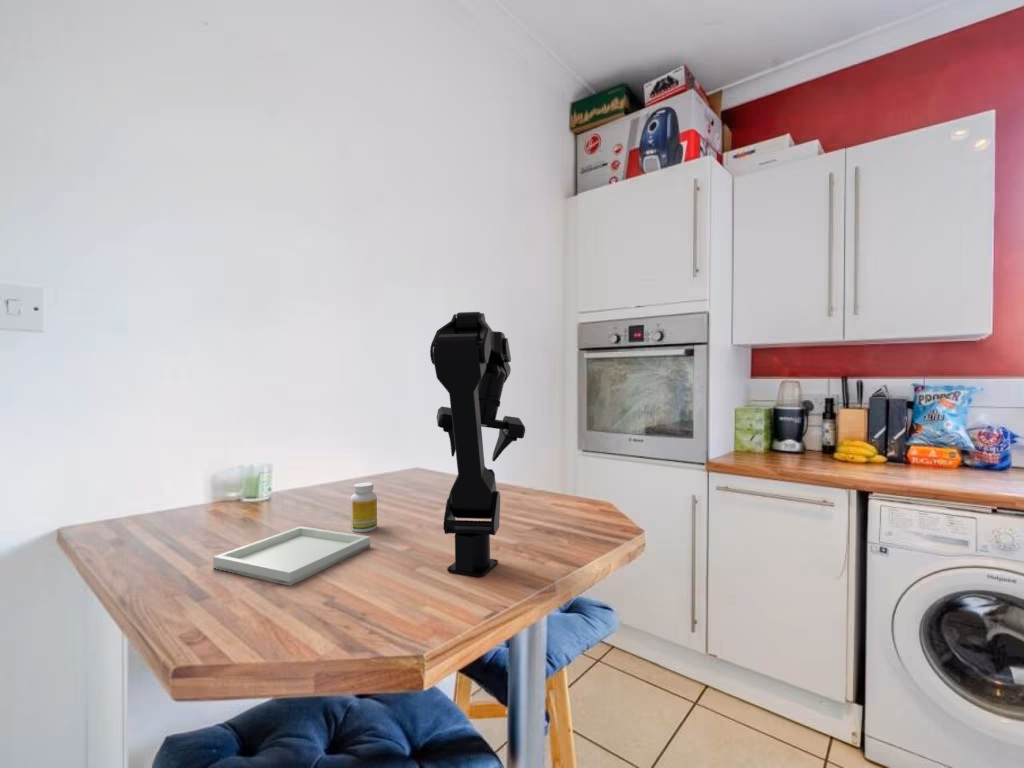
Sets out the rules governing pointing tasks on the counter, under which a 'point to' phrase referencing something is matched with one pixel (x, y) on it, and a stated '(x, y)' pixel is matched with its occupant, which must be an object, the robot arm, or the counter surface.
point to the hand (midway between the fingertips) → (473, 458)
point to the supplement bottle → (363, 508)
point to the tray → (291, 554)
